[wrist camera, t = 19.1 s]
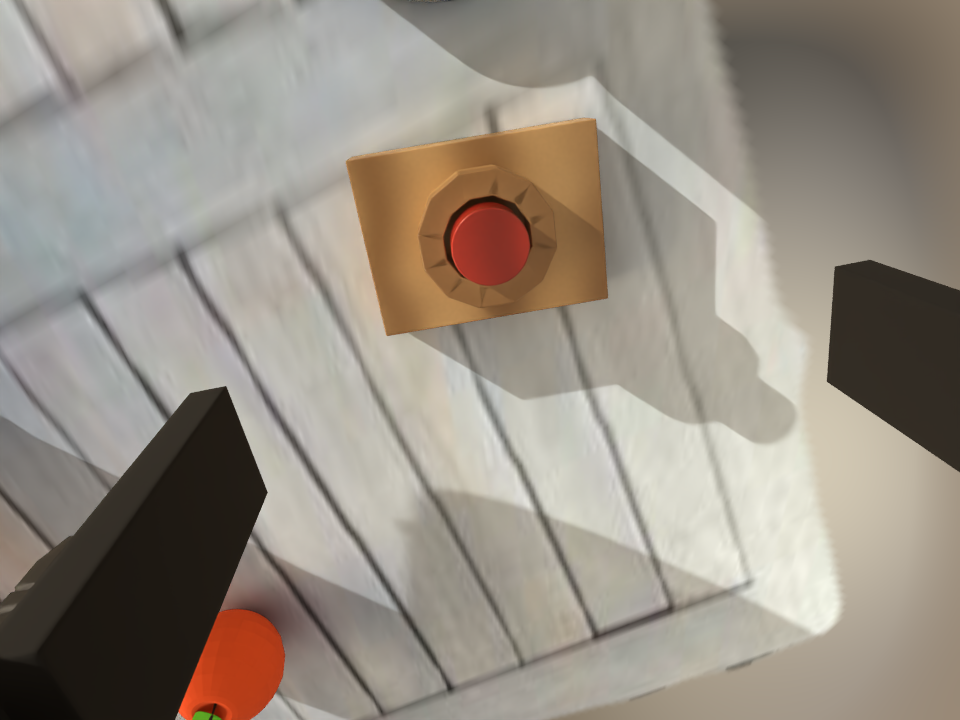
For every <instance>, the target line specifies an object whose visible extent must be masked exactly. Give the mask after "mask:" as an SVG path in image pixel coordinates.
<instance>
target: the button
mask: <svg viewBox="0 0 960 720" xmlns="http://www.w3.org/2000/svg"><path fill="white" fill-rule="evenodd" d="M450 246H451V253H452V258H453V261H454V263H455V265H456V267H457V269H458V270H459V272H460V273H461V274H462V275H463V276H464V277H465V278H467V279H468V280H470V281H472V282H474V283H476V284H479V285H484V286H495V285H500V284H503V283H506V282H508V281H510V280H511V279H513V278H514V277H515V276H516V275H518V274H519V272H520V271H521V270H522V269H523V267H524V266H525V264H526V262H527V259H528V256H529V251H530V240H529V235H528V232H527V230H526V228H525V226H524V224H523V223H522V221H521V220H520V219H519V218H518V216H517V215H516V214H515V213H514V212H513V211H512V210H511V209H509V208H508V207H506V206H504V205H502V204H499V203H495V202H481V203H477V204H475V205H472V206H470V207H468V208H467V209H466V210H464V211H463V212H462V213H461V214H460V215H459V216H458V218H457V219H456V221H455V222H454V225H453V227H452V230H451V235H450Z"/></svg>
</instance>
